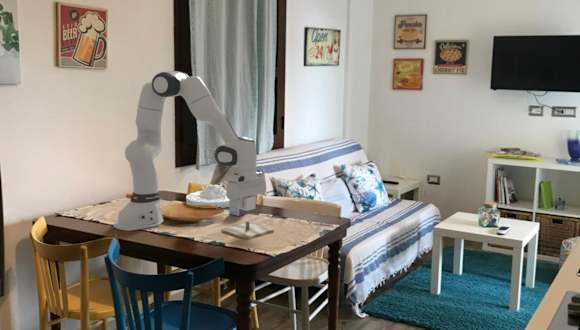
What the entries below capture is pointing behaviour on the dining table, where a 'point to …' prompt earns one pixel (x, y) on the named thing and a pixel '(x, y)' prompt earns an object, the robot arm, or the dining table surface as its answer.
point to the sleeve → (248, 205)
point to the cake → (209, 196)
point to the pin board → (247, 230)
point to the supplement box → (234, 208)
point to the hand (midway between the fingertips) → (247, 206)
